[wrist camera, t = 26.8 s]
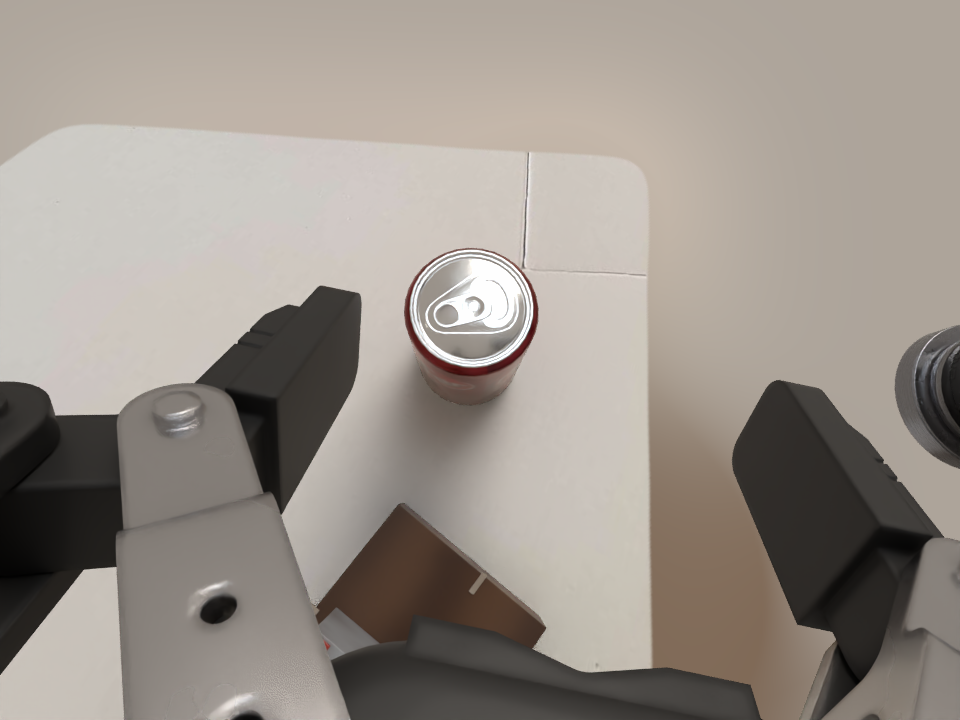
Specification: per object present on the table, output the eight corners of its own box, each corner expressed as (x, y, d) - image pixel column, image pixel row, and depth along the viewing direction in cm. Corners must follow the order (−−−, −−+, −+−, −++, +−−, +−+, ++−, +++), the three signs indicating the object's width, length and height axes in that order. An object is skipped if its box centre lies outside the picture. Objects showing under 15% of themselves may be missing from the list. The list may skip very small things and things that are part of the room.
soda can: (503, 303, 41) (520, 230, 29) (527, 394, 40) (556, 356, 28) (410, 323, 40) (390, 258, 29) (431, 417, 39) (419, 388, 27)
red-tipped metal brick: (491, 737, 32) (498, 785, 27) (469, 771, 31) (471, 828, 26) (336, 606, 33) (314, 629, 28) (312, 638, 33) (285, 666, 27)
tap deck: (577, 646, 36) (588, 661, 33) (422, 875, 33) (417, 917, 30) (392, 491, 38) (386, 492, 35) (227, 694, 34) (204, 715, 31)
